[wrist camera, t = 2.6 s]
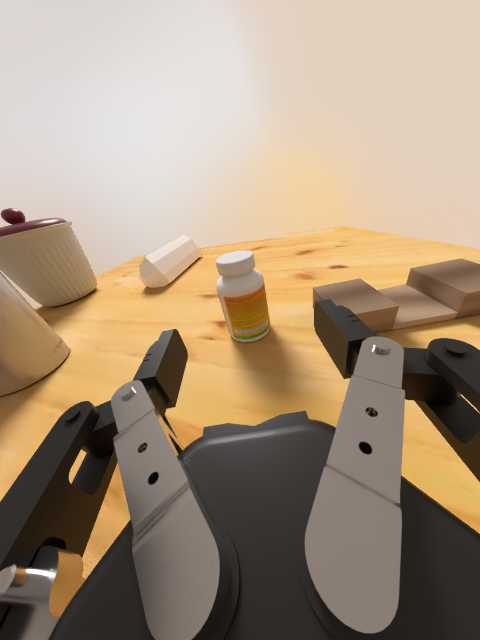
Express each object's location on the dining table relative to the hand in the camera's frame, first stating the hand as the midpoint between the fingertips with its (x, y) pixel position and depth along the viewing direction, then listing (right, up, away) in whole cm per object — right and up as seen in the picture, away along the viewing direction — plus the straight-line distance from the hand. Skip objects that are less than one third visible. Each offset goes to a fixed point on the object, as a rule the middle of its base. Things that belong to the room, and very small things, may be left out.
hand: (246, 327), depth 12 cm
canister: (-45, +7, +42) cm, 62 cm away
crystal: (-18, +14, +44) cm, 49 cm away
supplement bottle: (+1, -1, +14) cm, 14 cm away
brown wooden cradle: (+19, +2, +12) cm, 22 cm away
